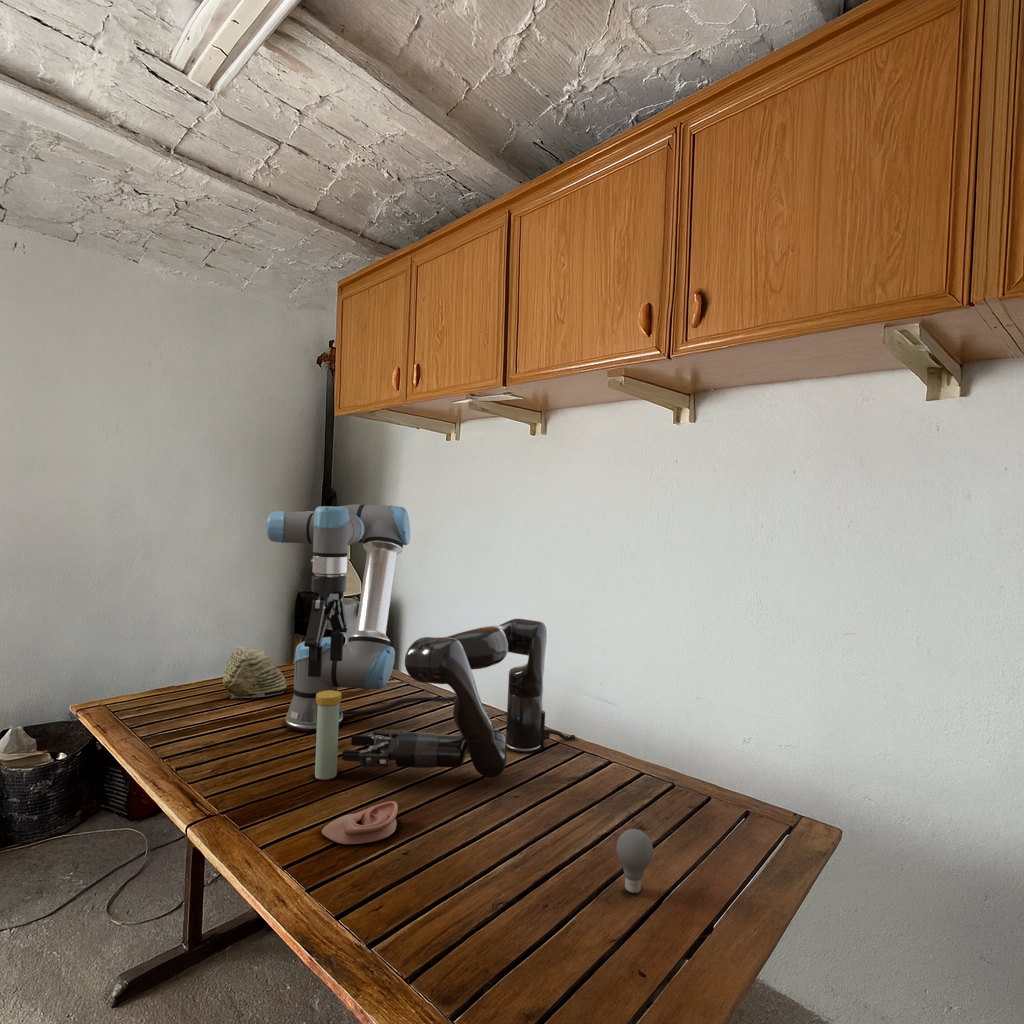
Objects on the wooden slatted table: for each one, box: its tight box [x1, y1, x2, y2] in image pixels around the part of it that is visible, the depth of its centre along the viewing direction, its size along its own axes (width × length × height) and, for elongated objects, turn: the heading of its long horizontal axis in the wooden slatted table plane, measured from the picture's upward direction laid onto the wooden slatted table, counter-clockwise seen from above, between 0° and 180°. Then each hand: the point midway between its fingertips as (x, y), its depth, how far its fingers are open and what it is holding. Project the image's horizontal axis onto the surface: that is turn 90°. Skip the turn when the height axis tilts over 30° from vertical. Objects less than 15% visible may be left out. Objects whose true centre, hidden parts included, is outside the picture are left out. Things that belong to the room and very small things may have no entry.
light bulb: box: [615, 828, 654, 894], centre depth 106 cm, size 6×6×10 cm
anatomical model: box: [321, 800, 399, 845], centre depth 121 cm, size 13×4×12 cm
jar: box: [314, 704, 340, 781], centre depth 144 cm, size 5×5×18 cm
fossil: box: [222, 646, 288, 699], centre depth 198 cm, size 9×18×15 cm, turn 132°
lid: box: [316, 690, 343, 706], centre depth 144 cm, size 6×6×2 cm
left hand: (325, 668), depth 143 cm, fingers open, 13 cm apart
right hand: (347, 747), depth 144 cm, fingers open, 8 cm apart
